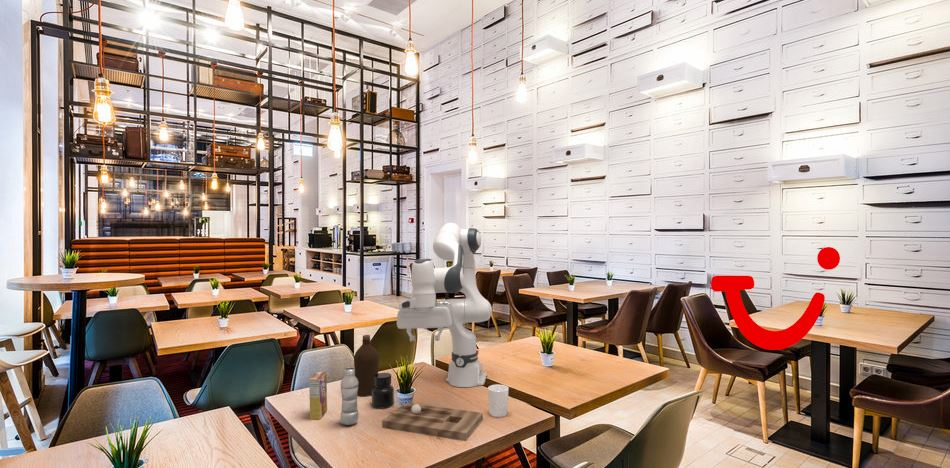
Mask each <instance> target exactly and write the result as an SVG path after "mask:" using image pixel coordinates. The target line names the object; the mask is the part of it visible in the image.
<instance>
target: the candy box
mask: <svg viewBox="0 0 950 468" xmlns="http://www.w3.org/2000/svg"><path fill="white" fill-rule="evenodd" d="M308 381H309V382H308V383H309V384H308V385H309V386H308V387H309V420H311V421H312V420H314V421H315V420H321V419H323V417H324V416H325V413H327V411H328V392H327V391H328V387H327V385H328V384H327V371H316V372H315V373H314V374H313V375H312V376H311V377H310V378H309V380H308Z"/></svg>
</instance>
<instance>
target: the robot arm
mask: <svg viewBox="0 0 950 468" xmlns="http://www.w3.org/2000/svg"><path fill="white" fill-rule="evenodd" d="M481 244H482V235H481V233H480V230H478V229H477V228H472V227H468V228H461V227H460V226H459V225H458V224H457V223H455V222H447V223H444V225H442V227H440V229H439V230H438V232H437V233H436V234H435V237H434V240H433V243H432V251H433V252H434V253H435V255H436V256H437V257H438V258H439V259H441V260H443V261H450V262H452V265H451V266H447V267H435V265H434V261H433V259H431V258H421V259H420V258H419V259H415V260H414V261H413V262H412V266H411V275H410V276H411V277H410V279H411V282H410V283H411V287H412V292H411V298H409V299H406V300H404V301H402V302H400V303H399V304H398V306H399V310H398V311H397V317H396V327H397V328H398V329H400V330H405V329H406V333H407V335H408V337H409V342H415V341H416V336H415V335H413V334H412V332H413V329H437V332H438V333H437V335H434V338H435V339H434V341H440V340H441V335H442V332H443V331H444V330H443V329H444V328H445V329H447V328H448V330H449V333H450V335H451V342H452V351H451V356H450V357H451V362H449V364H448V375H447V376H448V377H446V378H445V382H448V383H449V385H451V386H453V387H456V388H457V387H458V388H472V387H476V386H484V385H485V383H486V380H487V377H488V373H487V372H484V371H483V364H482V362H480V360H479V358H478V357H479V356H478V355H479V350H478V349H477V336H476V333H474V332H473V331H472V330H469V329H468V328H466V327H465V326H464V324H465V323H466V324H467V323H469V324H470V323H482V322H486V321H489V320H490V319H491V316H492V314H493V308H492V304H491V303H490V302H489V300H488V299H486V298H485V297H484V296H483V295H482V294H481V293H480V291H479V289H478V286H477V278H476V262H475V254H476V252H477V251H478V250H479V249H480V248H481ZM459 292H461V293H462V294H464V295H465V298H449V299H443V300H441V301H437V300H436V299H437V295H436V294H439V293H442V294H443V293H445V294H446V293H447V294H458V293H459ZM486 376H487V377H486Z"/></svg>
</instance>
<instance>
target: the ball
mask: <svg viewBox="0 0 950 468" xmlns="http://www.w3.org/2000/svg"><path fill="white" fill-rule="evenodd" d="M414 404H415V405H413V406H412V408H411V411H412V413H413V414H419V413H420V412H421V407H420V405H421V404H420V405H418V403H414Z"/></svg>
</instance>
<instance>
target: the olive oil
mask: <svg viewBox="0 0 950 468" xmlns="http://www.w3.org/2000/svg"><path fill="white" fill-rule="evenodd" d="M361 339H362V341H361V342H362V344H361V345H360V347H358V349H356V352H355V354H354V356H353V366H354V367H353V368H354V369H355V374H354V375H355V377H356V378H357V380H358V382H359V385H358V392H357V397H358V396H359V397H370V396H371V397H372V388H373V387H374V386H375V385H374V376H375V375H376V374H378V373H379V365H380V364H379V363H380V360H379V359H380V357H379V352H378V350H377V349H376V348H375V347H374V346H373V345H372V344H371V335H370V334H364V335H362V338H361Z"/></svg>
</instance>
